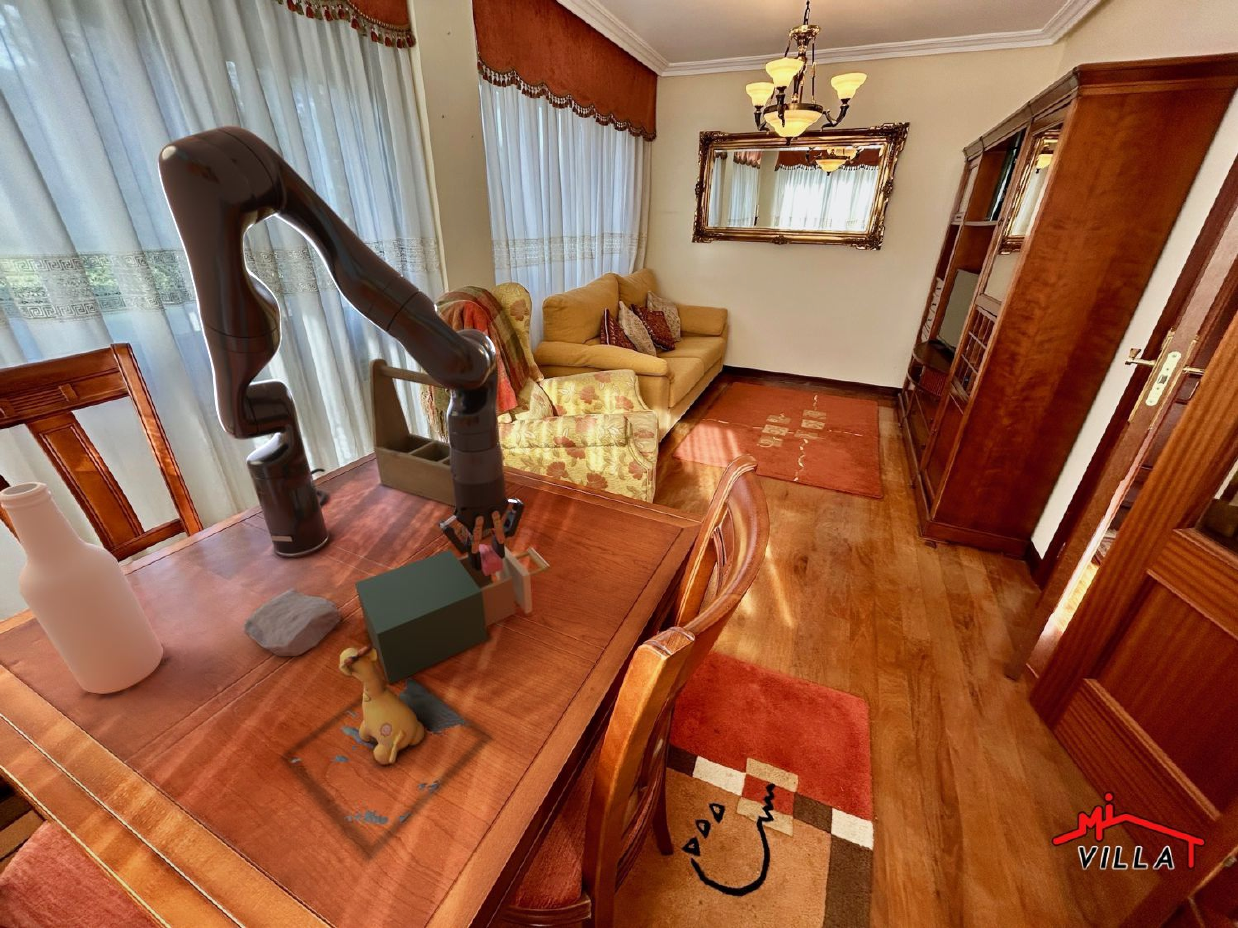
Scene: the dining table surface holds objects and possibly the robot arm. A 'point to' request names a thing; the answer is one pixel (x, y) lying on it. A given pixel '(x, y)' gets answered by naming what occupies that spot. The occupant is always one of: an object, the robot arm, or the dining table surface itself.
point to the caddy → (406, 440)
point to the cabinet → (422, 614)
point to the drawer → (506, 585)
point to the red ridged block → (489, 560)
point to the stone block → (292, 623)
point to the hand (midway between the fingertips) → (488, 563)
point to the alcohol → (80, 596)
